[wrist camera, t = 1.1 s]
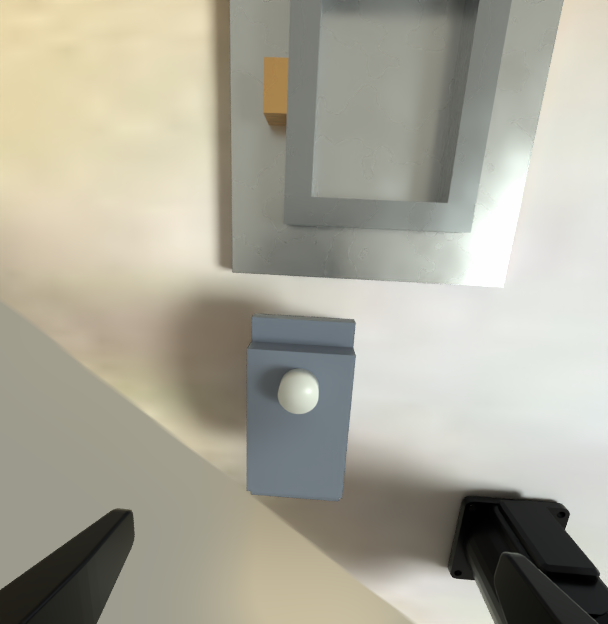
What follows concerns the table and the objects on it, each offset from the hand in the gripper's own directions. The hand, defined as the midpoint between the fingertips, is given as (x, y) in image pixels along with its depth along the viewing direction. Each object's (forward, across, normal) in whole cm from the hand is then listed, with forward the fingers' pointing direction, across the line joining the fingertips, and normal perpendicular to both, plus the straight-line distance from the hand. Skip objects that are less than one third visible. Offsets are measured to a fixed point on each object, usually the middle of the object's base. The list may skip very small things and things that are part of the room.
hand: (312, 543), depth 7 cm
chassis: (+11, -2, -13) cm, 17 cm away
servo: (+11, +1, +1) cm, 11 cm away
